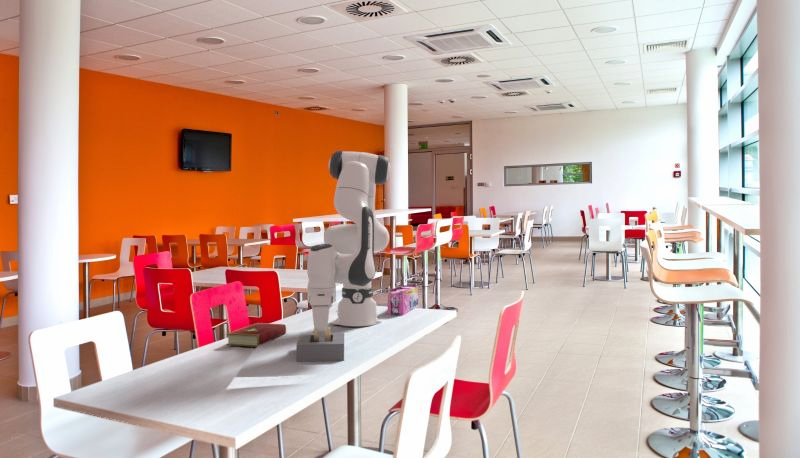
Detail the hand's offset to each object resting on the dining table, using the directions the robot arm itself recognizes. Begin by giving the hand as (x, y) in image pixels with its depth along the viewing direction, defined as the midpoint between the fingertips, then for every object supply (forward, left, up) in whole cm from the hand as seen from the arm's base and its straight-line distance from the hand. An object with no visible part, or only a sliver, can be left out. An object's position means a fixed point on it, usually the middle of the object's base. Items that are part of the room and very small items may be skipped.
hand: (322, 340), depth 182 cm
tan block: (0, 0, -2) cm, 2 cm away
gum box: (-67, +32, -5) cm, 74 cm away
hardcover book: (-28, -24, -5) cm, 37 cm away
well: (0, 0, -4) cm, 4 cm away
